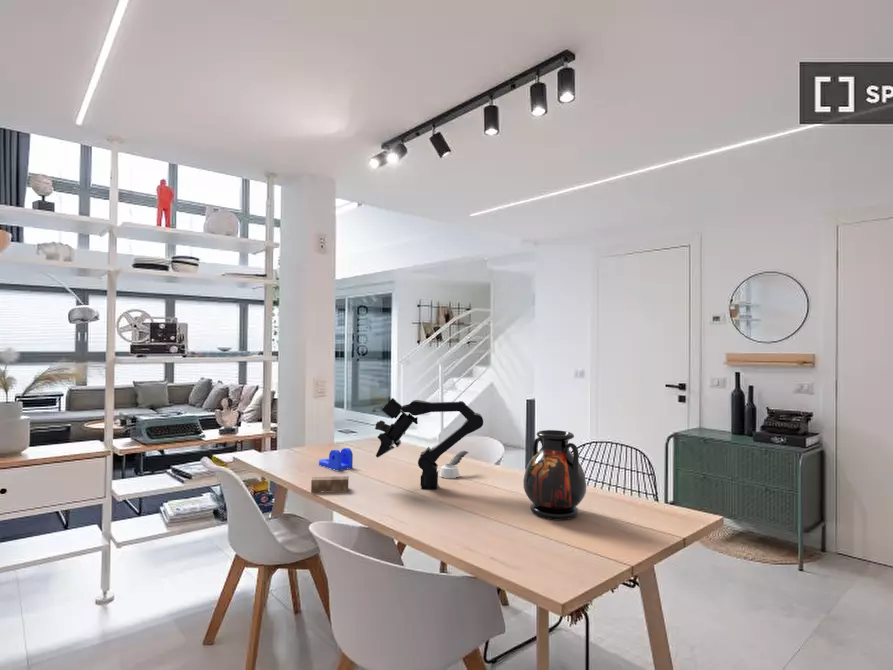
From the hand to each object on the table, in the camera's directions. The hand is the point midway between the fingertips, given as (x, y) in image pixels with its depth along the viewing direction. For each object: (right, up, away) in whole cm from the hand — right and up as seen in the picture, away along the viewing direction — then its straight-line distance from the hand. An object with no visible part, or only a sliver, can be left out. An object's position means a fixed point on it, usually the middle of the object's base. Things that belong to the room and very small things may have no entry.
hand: (376, 456), depth 211 cm
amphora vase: (+66, -13, -30) cm, 73 cm away
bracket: (-25, -13, +35) cm, 45 cm away
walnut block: (-11, -10, -5) cm, 15 cm away
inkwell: (+32, -14, +23) cm, 42 cm away
